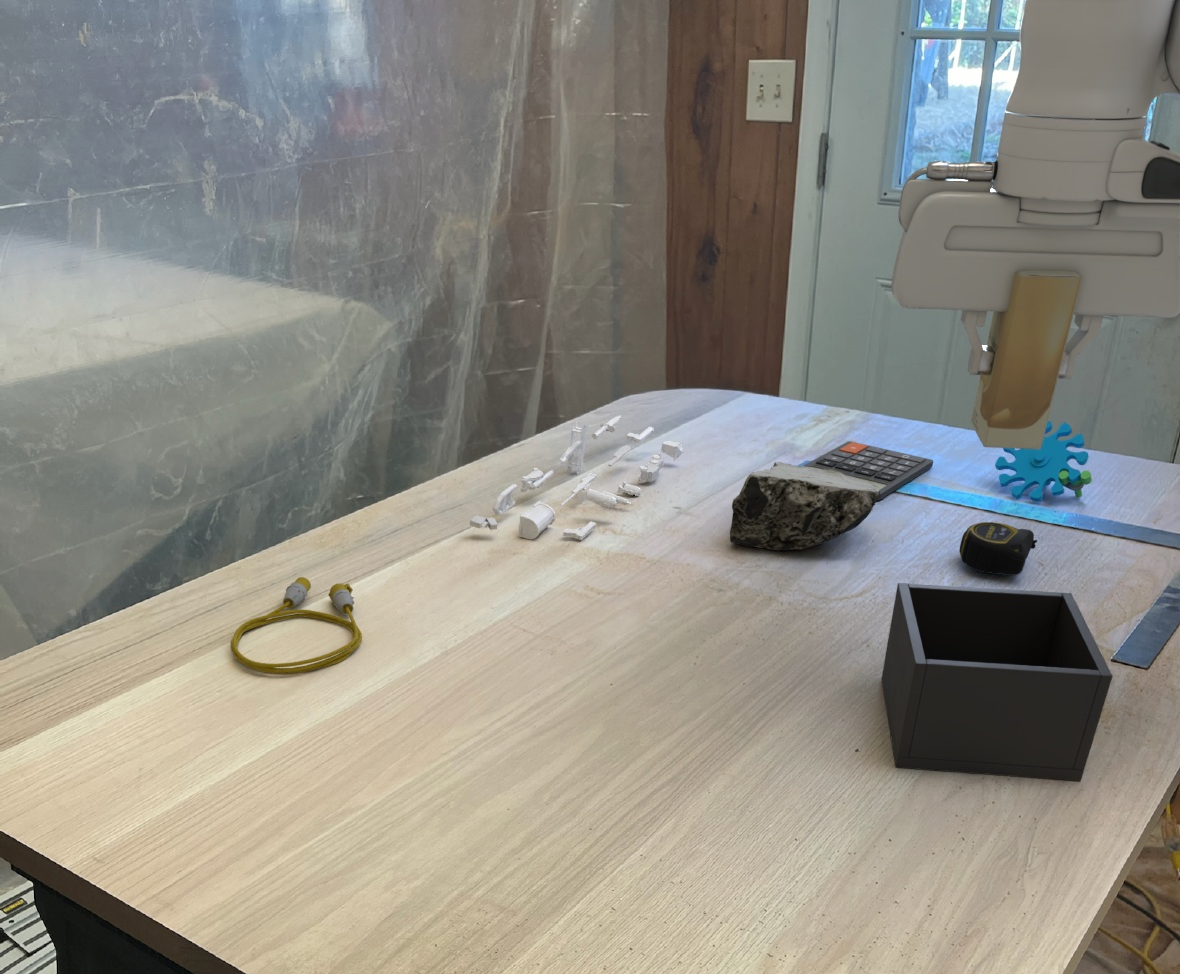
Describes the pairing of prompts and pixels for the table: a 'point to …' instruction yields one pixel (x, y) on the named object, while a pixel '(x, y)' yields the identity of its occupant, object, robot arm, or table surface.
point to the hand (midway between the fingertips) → (1018, 375)
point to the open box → (992, 682)
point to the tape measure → (996, 548)
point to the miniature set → (545, 515)
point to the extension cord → (291, 599)
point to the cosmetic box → (1025, 359)
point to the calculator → (873, 465)
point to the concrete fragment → (798, 507)
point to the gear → (1046, 465)
